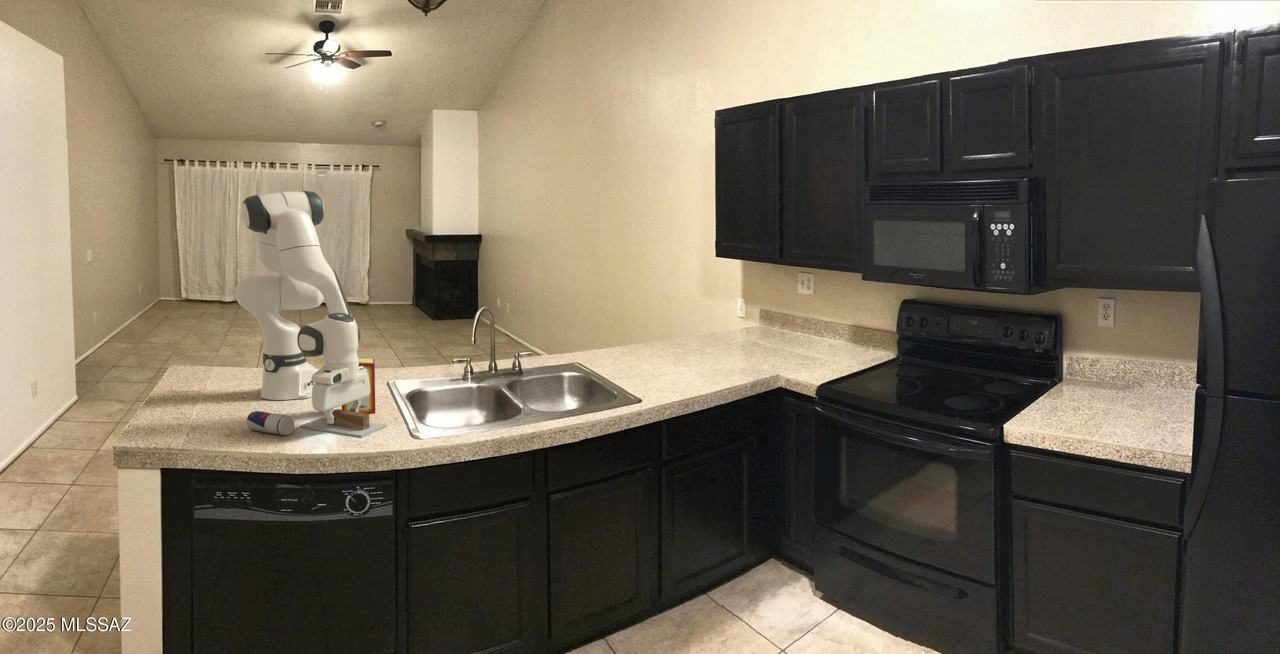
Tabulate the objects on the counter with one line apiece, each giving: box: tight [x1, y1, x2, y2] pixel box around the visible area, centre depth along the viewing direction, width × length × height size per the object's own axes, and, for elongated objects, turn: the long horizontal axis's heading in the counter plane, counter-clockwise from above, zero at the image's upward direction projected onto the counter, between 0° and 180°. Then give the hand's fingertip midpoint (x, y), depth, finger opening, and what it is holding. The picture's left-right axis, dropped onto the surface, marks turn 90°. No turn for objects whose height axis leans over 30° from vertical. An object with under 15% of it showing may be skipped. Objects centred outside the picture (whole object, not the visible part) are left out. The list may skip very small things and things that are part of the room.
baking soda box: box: [341, 358, 376, 415], centre depth 233 cm, size 10×6×16 cm
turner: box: [312, 408, 370, 430], centre depth 217 cm, size 6×16×4 cm, turn 71°
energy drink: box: [245, 410, 295, 436], centre depth 210 cm, size 5×5×12 cm
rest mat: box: [299, 418, 388, 438], centre depth 218 cm, size 11×21×1 cm, turn 71°
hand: (343, 418), depth 218 cm, fingers open, 8 cm apart
